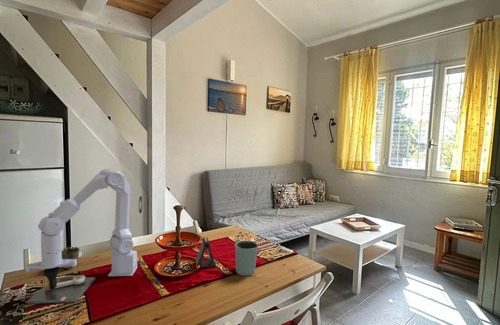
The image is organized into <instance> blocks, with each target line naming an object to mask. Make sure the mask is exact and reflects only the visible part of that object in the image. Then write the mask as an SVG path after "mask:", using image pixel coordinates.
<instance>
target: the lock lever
mask: <svg viewBox="0 0 500 325" xmlns="http://www.w3.org/2000/svg"><path fill="white" fill-rule="evenodd" d="M72 278H73V280H70V281H65V282H61V283H57V286H56V287H55V288H58V287H62V286H67V285H71V284H75V285H78V284H82V283H84V282H85V278H86V276H85V275H84V274H79V275H77V276H75V277H72ZM49 283H50V282H49V280H48V278H47V277H45V278H44V286H45V290H51V289H50V287H49Z"/></svg>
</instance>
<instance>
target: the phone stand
mask: <svg viewBox="0 0 500 325" xmlns="http://www.w3.org/2000/svg"><path fill="white" fill-rule="evenodd" d="M206 250H207V254H208V257H209V260H203V258H204V255H205V252H206ZM213 255H214V254H213V253H212V250H211V243H210V241H209V238H208V237H207V236H206V237H205V236H204V237H202V238H201V245H200V248H199V250H198V252H197V255H196V258H195V260H196V263H197V265H200V266H201V268H200V269H204V268H203V267H206V268H214V267H213V266H216V267H217V264H216V261H215V259H214V256H213Z"/></svg>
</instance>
